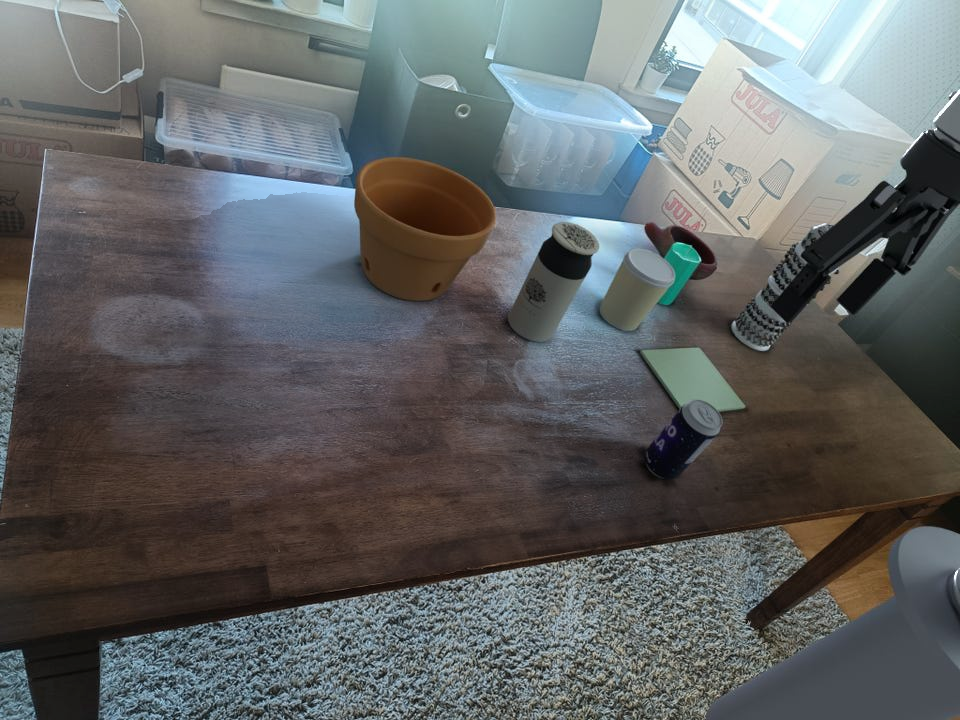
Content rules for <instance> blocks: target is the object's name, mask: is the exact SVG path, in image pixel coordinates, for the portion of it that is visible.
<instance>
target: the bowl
mask: <svg viewBox="0 0 960 720" xmlns="http://www.w3.org/2000/svg"><path fill="white" fill-rule="evenodd" d="M644 232H645V235H646V237H647V238H648V240H649V241H650V242H651V243H652V245H653V246H654V247H655V249H656V250H657V252H658V253H659V256H661V257H662V258H663V259H664V257H665V256H666V254H667V253H668V251H669V250H670V248H671V246H672V245H673V244H674V243H676V242H678V243H684V244H687V245H690V246H691V245H692V248H693V249H694V250H695V251H696V252H697V253H698V255H699V256H700V258H701V262H700V263H699V265H698V266H697V268H696V269H695V270H694V272H693V273H692V275H691V276H690V278H689V279H688V280H690V281H701V280H704V279H707V278H709V277H710V276H711V275H712V274H714V272H715V271H716V270H717V268H718V267H717V266H718V259H717V256H716V254H715V253H714V252H713V250H712V248H711V247H710V246H709V245H708V244H707V243H706V242H705V241H704V240H703V239H701V238H700V237H698V236H697V234H695V233H693V232H692V231H690V230H689V229H687V228H685V227H683V226H681V225H677V224H671V225H669V226H667V227H665V228H661V227H660V226H658V224H657V223H655V222H653V221H651V222H647V223H645V225H644Z"/></svg>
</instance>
